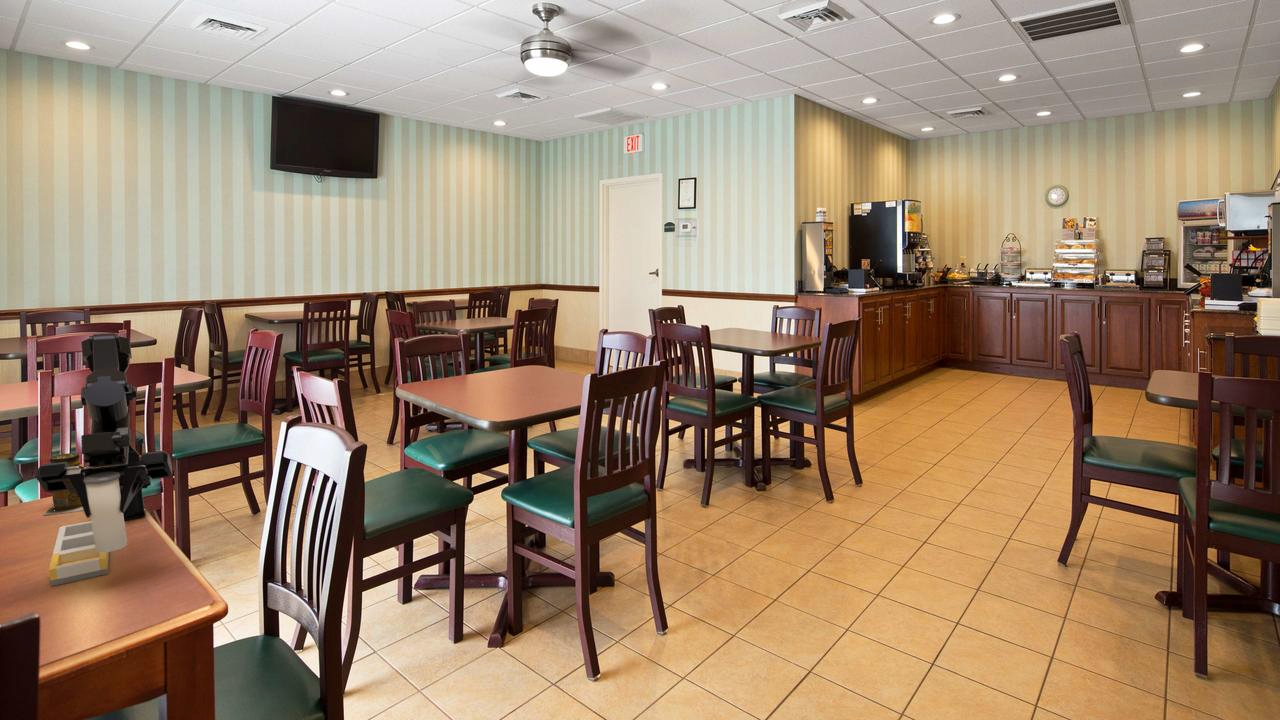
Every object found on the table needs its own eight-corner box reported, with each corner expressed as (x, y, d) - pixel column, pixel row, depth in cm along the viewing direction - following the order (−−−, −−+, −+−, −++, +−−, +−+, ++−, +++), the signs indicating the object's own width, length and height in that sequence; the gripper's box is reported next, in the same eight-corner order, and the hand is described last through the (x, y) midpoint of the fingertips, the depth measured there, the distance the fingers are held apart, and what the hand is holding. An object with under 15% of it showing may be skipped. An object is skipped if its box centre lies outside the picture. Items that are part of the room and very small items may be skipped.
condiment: (93, 499, 167) (86, 450, 165) (83, 510, 159) (76, 459, 157) (54, 504, 164) (47, 454, 162) (43, 516, 156) (35, 464, 154)
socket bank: (110, 531, 147) (109, 517, 147) (107, 573, 128) (105, 558, 128) (61, 540, 143) (60, 526, 142) (50, 586, 123) (48, 570, 123)
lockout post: (128, 538, 127) (119, 469, 125) (129, 548, 123) (119, 477, 121) (94, 545, 124) (84, 475, 122) (93, 555, 120) (82, 483, 118)
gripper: (31, 419, 119) (20, 502, 111) (162, 407, 128) (161, 483, 120) (50, 452, 127) (41, 531, 119) (172, 439, 136) (172, 512, 128)
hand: (105, 514), depth 121 cm, fingers closed on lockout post, 4 cm apart
